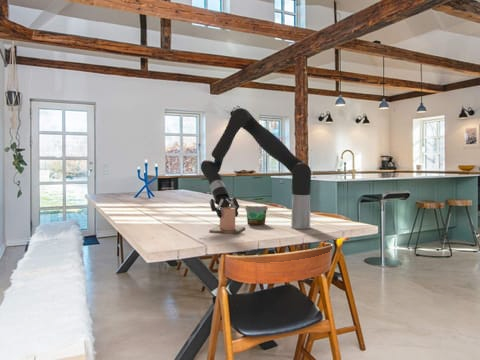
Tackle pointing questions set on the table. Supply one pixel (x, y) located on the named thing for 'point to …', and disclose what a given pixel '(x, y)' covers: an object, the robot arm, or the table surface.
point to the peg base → (232, 231)
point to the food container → (256, 215)
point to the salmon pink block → (227, 218)
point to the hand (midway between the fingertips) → (228, 216)
